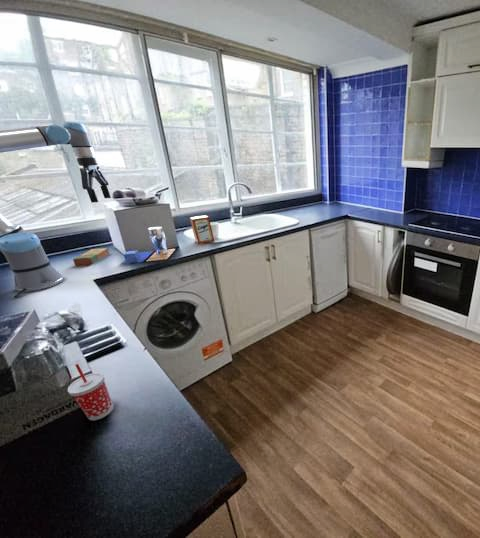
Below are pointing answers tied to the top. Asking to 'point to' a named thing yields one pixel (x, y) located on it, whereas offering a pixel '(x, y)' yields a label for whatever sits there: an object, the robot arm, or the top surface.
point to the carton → (90, 257)
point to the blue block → (132, 256)
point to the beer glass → (158, 240)
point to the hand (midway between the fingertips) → (101, 200)
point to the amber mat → (160, 257)
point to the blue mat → (142, 256)
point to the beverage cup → (91, 395)
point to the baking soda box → (202, 229)
